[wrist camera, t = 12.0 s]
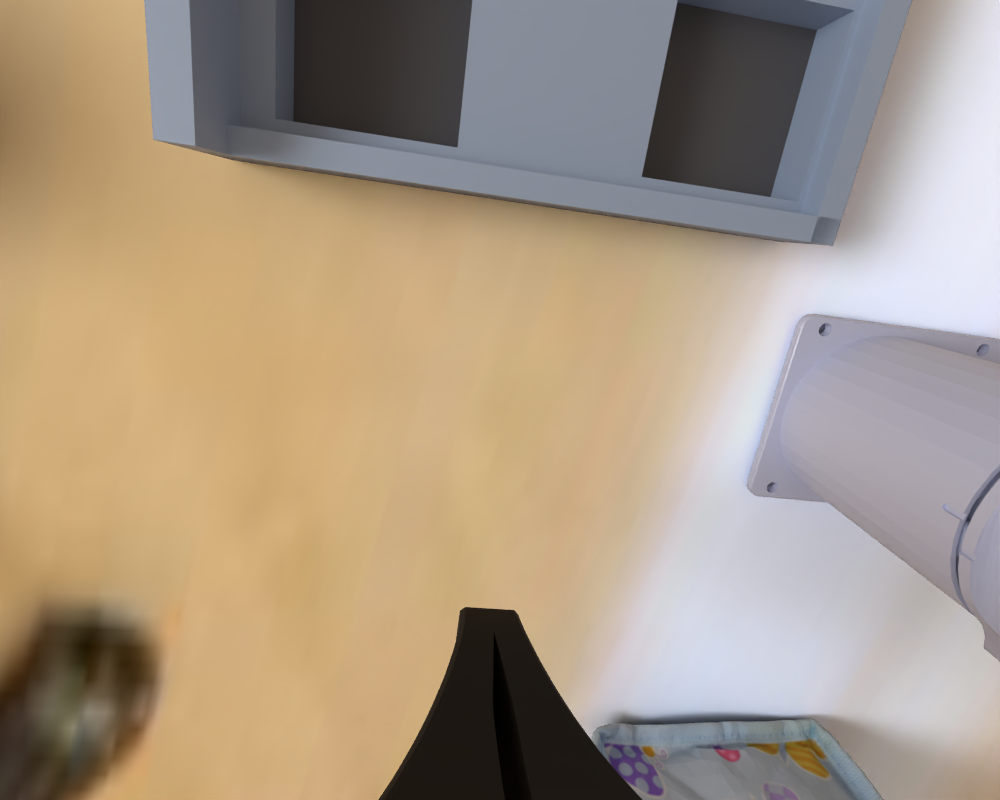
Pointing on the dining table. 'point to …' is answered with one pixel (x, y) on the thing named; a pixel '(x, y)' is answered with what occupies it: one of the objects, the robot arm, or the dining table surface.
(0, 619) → the dining table surface
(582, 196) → the tray
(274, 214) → the dining table surface
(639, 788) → the lunch bag
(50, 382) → the dining table surface
